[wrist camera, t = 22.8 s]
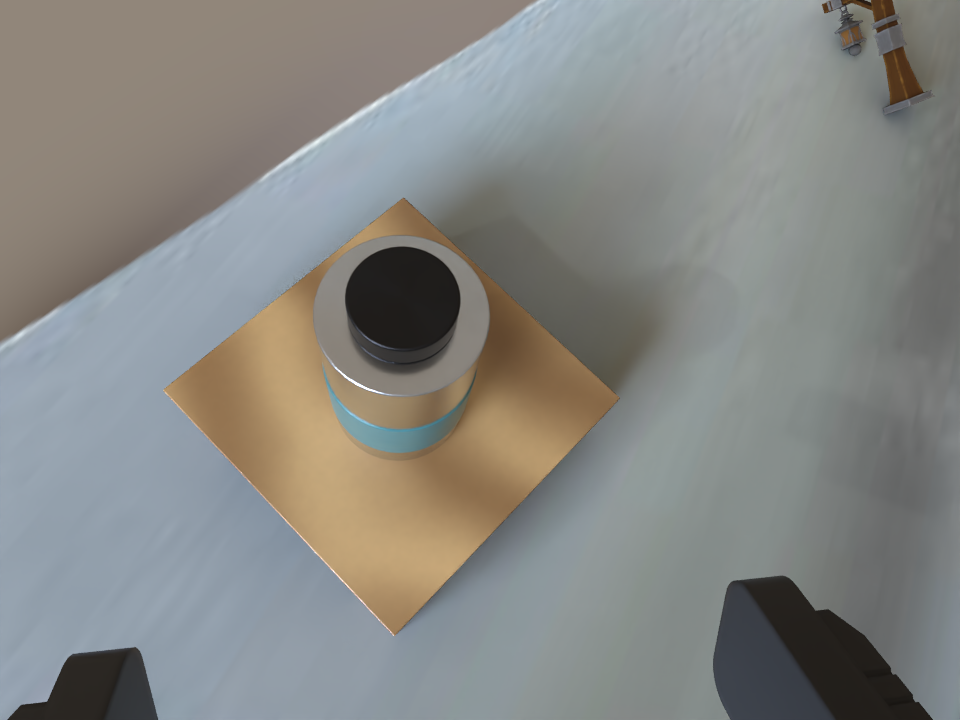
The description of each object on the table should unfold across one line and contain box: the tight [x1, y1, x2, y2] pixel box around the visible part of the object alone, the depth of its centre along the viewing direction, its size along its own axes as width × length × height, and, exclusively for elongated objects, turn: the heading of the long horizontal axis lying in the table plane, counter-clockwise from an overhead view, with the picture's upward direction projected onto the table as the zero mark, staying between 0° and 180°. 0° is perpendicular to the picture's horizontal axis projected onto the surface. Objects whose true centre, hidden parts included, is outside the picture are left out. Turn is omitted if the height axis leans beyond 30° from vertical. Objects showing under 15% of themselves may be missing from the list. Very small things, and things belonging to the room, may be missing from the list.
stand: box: [164, 198, 620, 636], centre depth 30 cm, size 12×12×5 cm
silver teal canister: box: [313, 235, 490, 461], centre depth 23 cm, size 5×5×9 cm
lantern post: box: [822, 0, 934, 115], centre depth 41 cm, size 2×8×4 cm, turn 27°
